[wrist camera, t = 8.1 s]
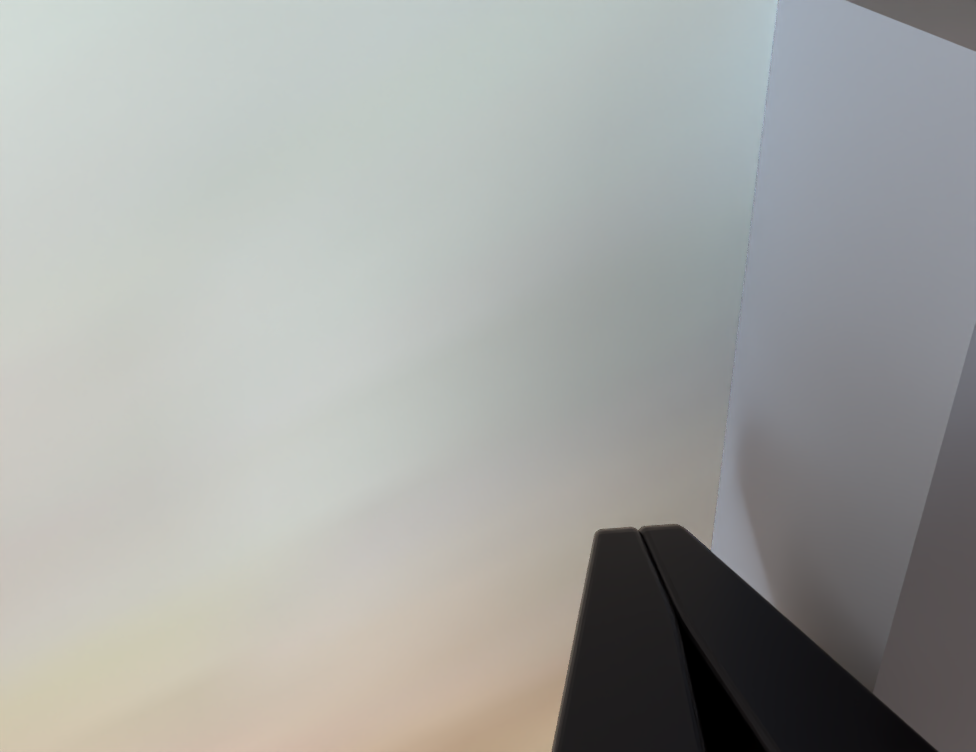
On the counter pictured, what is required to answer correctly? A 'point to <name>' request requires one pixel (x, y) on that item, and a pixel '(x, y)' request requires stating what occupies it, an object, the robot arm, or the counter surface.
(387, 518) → the counter surface
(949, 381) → the block
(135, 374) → the counter surface
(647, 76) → the counter surface
